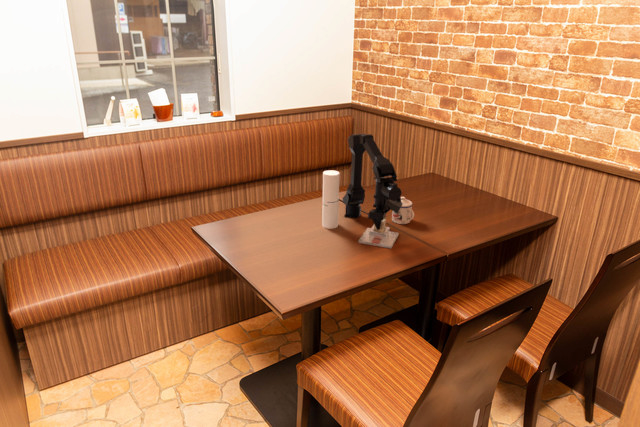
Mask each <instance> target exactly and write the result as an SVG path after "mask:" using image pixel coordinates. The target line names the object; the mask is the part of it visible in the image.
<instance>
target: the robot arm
mask: <svg viewBox="0 0 640 427" xmlns="http://www.w3.org/2000/svg"><path fill="white" fill-rule="evenodd" d="M347 143H348V149H349V150H350V153H351V166H350V167H351V169H350V184H349V185H348V186H347V189H346V192H345V195H344V196H343V197H342V203H343V204H344V205H345V214H344V217H345V218H351V219H358V218H359V217H360V216H361V214H362V206H361V205H363V204H364V201H365V198H366V194H365V193H366V190H365V188H364V187H363V186H362V176H363V161H364V160H363V156H364V153H365V152H366V153H367V155H368V157H369V159H370V160H371V162H372V165H373V166H372V172H373V175H374V177H373V179H374V180H375V191H374V195H373V199H374V203H373V205H372V209H370V211H369V212H368V213H367V214H368V215H367V218H368V219H371V220H372V221H373V225H374V224H375V226H376V229H377V230H379V229H380V226H381V222H382V220H383V219H384V218H387V216H386V215H387V213H388V212H390V211H391V212H392V211H394V212H395V213H398V212H399V210H400V208H401V206H402V202H401V197H402V189H401V188H400V187H398V183H397V181H398V178H397V177H398V175H397V173H396V170H395V167H394V165H393V163H392V161H391V160H390V159H388V158H387V157H385V156H384V155H383V154H382V151H381V150H380V148H379V147H378V145H377V143H376V141H375V139H374V135H373V134H371V133H368V134H367V133H366V134H365V133H353V134H350V136H348V137H347Z"/></svg>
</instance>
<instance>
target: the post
mask: <svg viewBox="0 0 640 427" xmlns="http://www.w3.org/2000/svg"><path fill="white" fill-rule="evenodd" d="M386 223H387V217H385V218H384V219H383V220H382V222H381V226H380V229H379V230H377V229H376V226H375V224H374V223H373V225H374V231H379V232H384V231H385V227H387V226H386Z"/></svg>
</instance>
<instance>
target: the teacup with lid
mask: <svg viewBox="0 0 640 427" xmlns="http://www.w3.org/2000/svg"><path fill="white" fill-rule="evenodd" d="M400 198H401V202H402V206H401V208H400V210H399V212H398V213H395V212H394V211H392V210H391V221H392V222H393V223H394V224H399V225H406V224H407V225H408V224H409V223H410V222H411V220H413V219H414V217H415V212H414V210H413V209H412V208H413V201H411V200H410V199H408V198H407V199H406V197H405V196H400Z"/></svg>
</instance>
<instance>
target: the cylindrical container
mask: <svg viewBox="0 0 640 427" xmlns="http://www.w3.org/2000/svg"><path fill="white" fill-rule="evenodd" d="M340 175H341V174H340V172H339V171H337V170H335V169H334V170H331V169H330V170H329V169H328V170H324V171H323V172H322V209H321V210H322V211H321V212H322V213H321V215H322V216H321V217H322V218H321V219H322V220H321V225H322V227H323V228H324V229H328V230H329V229H330V230H332V229H336V228H338V226H339V204H340V202H339V201H340V198H339V196H340Z"/></svg>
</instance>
